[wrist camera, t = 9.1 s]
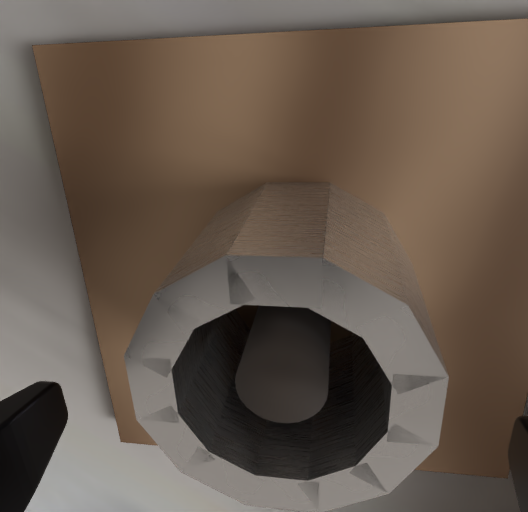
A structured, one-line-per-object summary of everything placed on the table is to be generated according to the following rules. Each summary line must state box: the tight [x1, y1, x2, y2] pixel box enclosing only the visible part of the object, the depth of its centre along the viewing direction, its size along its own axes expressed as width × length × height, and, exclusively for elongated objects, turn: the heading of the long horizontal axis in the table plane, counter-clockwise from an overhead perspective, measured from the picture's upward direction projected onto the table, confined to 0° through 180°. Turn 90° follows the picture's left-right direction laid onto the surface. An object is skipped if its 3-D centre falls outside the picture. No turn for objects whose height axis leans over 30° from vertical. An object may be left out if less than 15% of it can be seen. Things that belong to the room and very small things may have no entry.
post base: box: [32, 19, 528, 478], centre depth 12 cm, size 14×14×6 cm
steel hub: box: [124, 182, 449, 512], centre depth 12 cm, size 6×6×5 cm
